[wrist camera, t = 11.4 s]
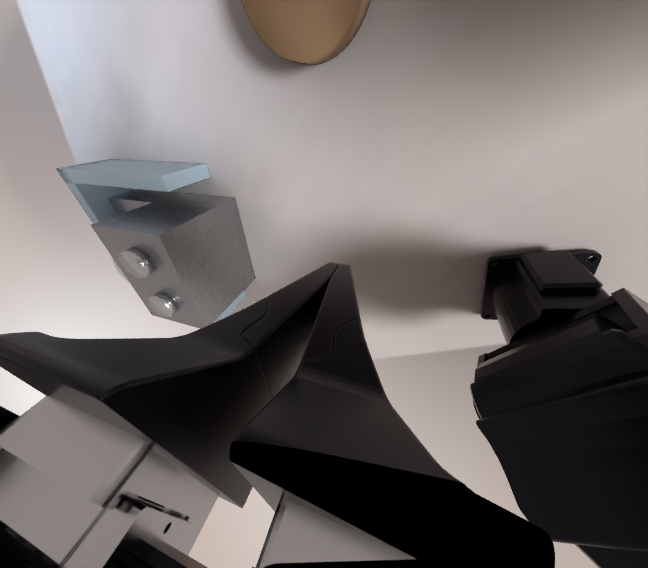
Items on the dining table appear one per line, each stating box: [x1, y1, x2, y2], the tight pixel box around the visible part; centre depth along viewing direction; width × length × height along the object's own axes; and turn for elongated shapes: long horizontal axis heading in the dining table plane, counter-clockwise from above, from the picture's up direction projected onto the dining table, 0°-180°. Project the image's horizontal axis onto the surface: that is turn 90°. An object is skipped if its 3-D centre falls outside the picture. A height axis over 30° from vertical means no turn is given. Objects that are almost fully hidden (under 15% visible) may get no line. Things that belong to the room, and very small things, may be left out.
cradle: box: [57, 159, 246, 320], centre depth 26 cm, size 13×16×5 cm
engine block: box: [91, 189, 255, 328], centre depth 24 cm, size 13×10×10 cm
